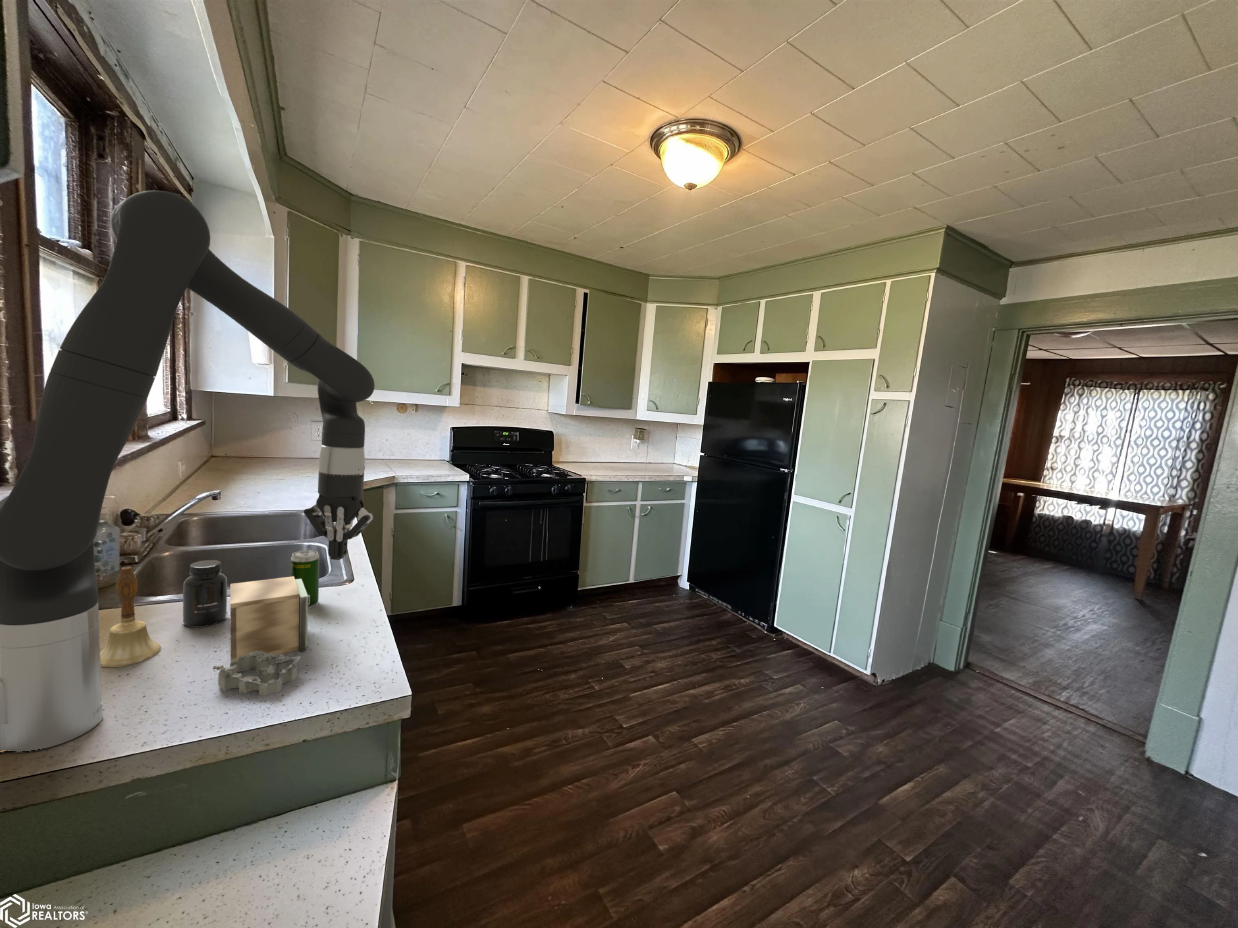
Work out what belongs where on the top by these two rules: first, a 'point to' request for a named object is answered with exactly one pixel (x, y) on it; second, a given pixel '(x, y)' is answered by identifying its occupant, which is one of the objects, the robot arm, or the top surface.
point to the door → (301, 593)
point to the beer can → (307, 573)
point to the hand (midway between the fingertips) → (337, 558)
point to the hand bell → (128, 629)
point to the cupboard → (266, 617)
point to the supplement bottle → (204, 594)
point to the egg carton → (264, 666)
